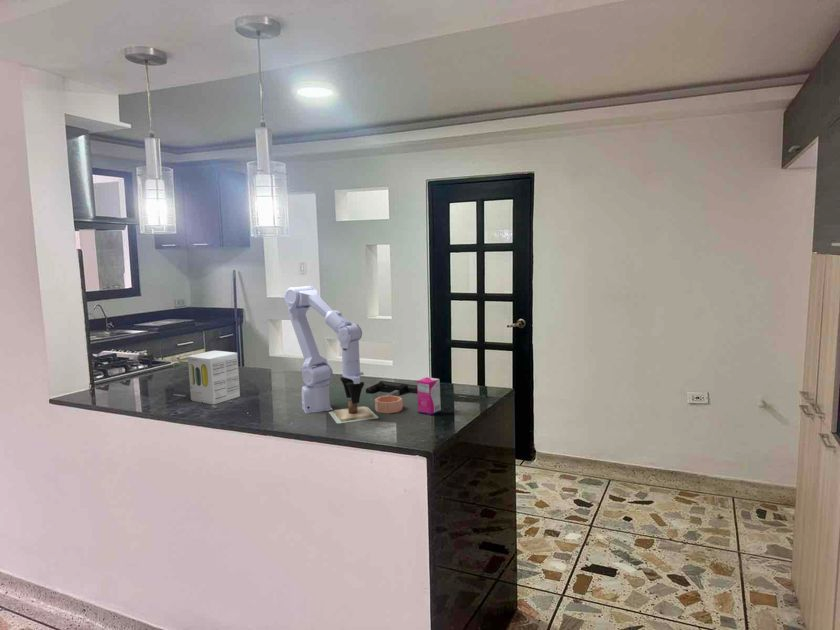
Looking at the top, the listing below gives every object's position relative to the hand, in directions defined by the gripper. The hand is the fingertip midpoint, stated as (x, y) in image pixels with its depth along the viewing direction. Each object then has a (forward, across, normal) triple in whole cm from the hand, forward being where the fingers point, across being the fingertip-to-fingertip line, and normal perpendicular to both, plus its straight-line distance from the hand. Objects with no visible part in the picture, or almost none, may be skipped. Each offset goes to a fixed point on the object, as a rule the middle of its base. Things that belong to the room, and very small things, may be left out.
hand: (352, 400), depth 188 cm
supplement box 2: (+6, -7, -25) cm, 26 cm away
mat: (+6, 0, 0) cm, 6 cm away
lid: (+5, 0, 0) cm, 5 cm away
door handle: (+6, +22, -21) cm, 31 cm away
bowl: (+6, +1, -13) cm, 14 cm away
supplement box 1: (+5, +45, +43) cm, 63 cm away
